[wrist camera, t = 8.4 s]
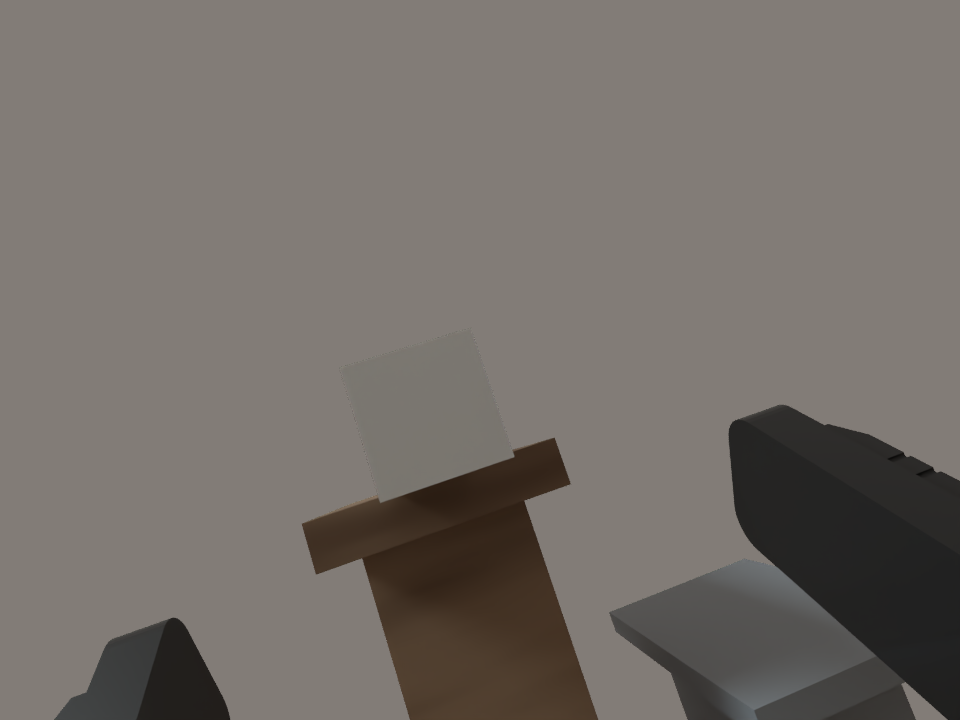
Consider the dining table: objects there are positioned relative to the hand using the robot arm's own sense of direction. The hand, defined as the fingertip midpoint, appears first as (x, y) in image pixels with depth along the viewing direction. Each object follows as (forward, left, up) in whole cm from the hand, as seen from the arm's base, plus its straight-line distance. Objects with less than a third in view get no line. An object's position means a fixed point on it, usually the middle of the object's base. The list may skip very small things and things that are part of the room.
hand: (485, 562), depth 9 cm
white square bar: (-5, -12, +1) cm, 13 cm away
